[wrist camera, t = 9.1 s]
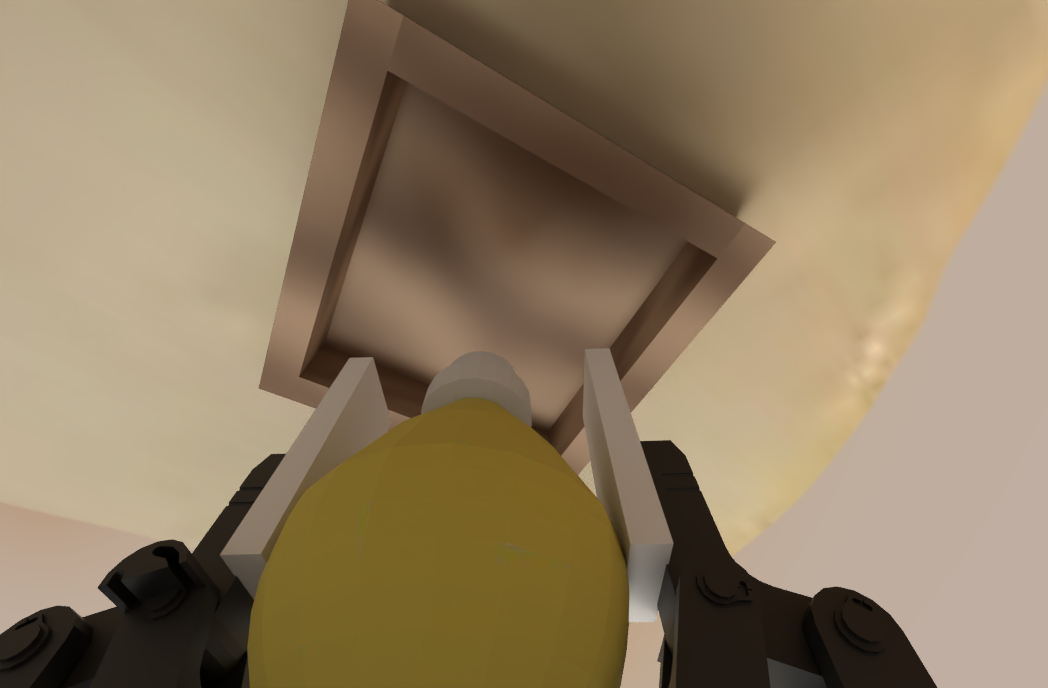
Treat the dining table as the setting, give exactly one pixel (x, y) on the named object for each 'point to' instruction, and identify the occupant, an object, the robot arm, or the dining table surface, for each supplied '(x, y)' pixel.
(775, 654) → the robot arm
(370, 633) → the light bulb
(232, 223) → the dining table surface
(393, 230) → the tray
